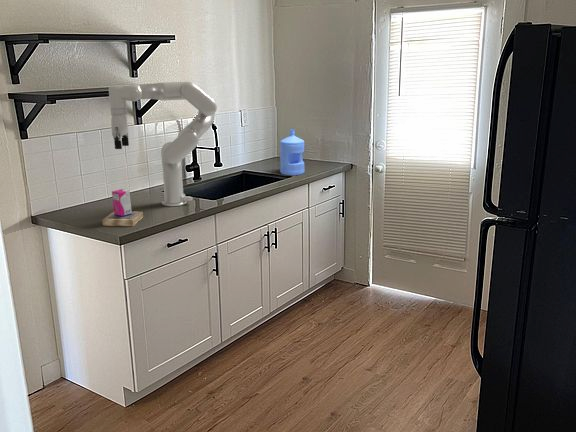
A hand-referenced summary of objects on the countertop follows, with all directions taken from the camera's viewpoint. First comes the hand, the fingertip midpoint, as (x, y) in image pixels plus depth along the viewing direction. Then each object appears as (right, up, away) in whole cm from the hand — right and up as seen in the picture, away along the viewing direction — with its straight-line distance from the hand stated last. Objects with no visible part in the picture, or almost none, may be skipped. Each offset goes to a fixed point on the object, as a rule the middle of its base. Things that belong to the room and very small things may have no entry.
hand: (122, 147), depth 273 cm
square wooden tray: (+5, -36, -16) cm, 40 cm away
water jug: (+84, -6, +86) cm, 121 cm away
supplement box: (+5, -33, -17) cm, 38 cm away
